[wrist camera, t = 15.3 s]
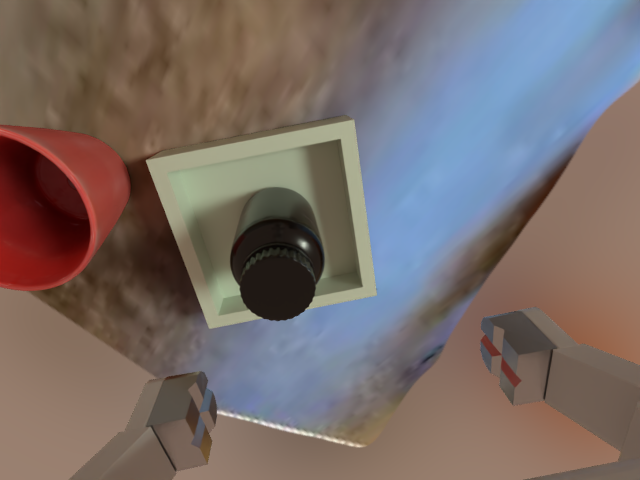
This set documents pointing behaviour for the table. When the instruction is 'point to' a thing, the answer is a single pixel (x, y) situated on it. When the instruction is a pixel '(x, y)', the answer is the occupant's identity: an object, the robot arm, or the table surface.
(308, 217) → the supplement bottle
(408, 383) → the table surface
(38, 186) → the flower pot
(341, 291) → the tray
